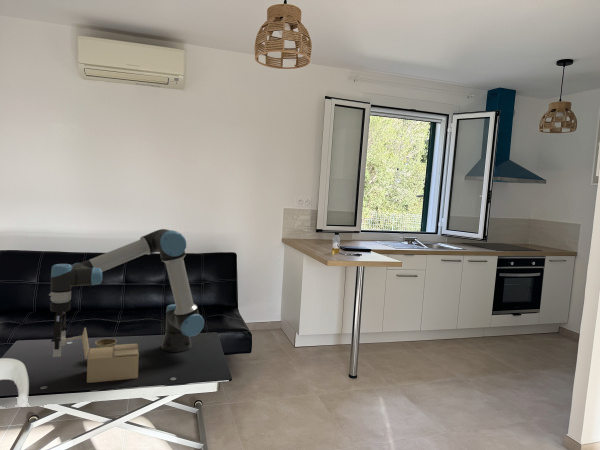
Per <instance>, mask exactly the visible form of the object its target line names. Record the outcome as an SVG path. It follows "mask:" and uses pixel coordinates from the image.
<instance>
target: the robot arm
mask: <svg viewBox="0 0 600 450" xmlns="http://www.w3.org/2000/svg"><path fill="white" fill-rule="evenodd" d="M186 249H187V240H186V237H185V236H184V235H183V234H182V233H180V232H178V231H177V230H170V229H167V228H166V229H165V228H161V229H158V230H154V231H152V232H150V233H148V234H145V235H142V236H140V238H139V239H138V240H136V241H133V242H131V243H128V244H125V245H123V246H120V247H118V248H116V249H113V250H110V251H108V252H105V253H103V254H100V255H97V256H95V257H93V258H90V259H88V260H85V261H82V262H76V263H75V262H74V263H73V264H69V263H57V264H53V265H52V266H51V272H50V273H51V274H50V293H49V294H48V296H50V301H51V302H50V303H49V311H50V312H52V313H55V315H54V316H53V319H54V321H53V322H54V324H53V336H52V339H51V340H50V341H51V342H52V343H53V344H52V345H53V346H52V350H53V351H52V357H53V358H57V357H59V358H60V357H62V347H65V346H66V343H65V344H64V345H63V346H61V336H64V337H65V338H66V331H68V327H67V313H66V312H69V311H70V310H71V306H72V305H71V299H72V287H83V286H97V285H100V284H101V283H102V281H103V272H105V271H107V270H111V269H113V268H115V267H117V266H120V265H122V264H125V263H128V262H129V261H132V260H134V259H136V258H140V257H141V256H144V255H147V256H148V255H152V254H155V253H159V255H160V260H161V262H163V263H164V264H165V267H166V271H167V275H168V276H167V277H168V279H169V284H170V288H171V291H172V296H173V301H174V303H173V304H169V305H167V306H166V310H165V334H164V336H163V339H162V342H161V349H162V350H163V351H165V352H172V353H178V352H184V351H188V350H190V349H191V348H192V340H191V338H192V337H195V336H198V334H200V333H201V332H202V330H203V329H204V326H205V319H204V318H203V316H202V315H201V314H200V311H199V307H198V305H197V304H196V303H194V299H193V295H192V291H191V287H190V283H189V279H188V274H187V269H186V264H185V260H184V258H185V257H186V256H187V255H186Z"/></svg>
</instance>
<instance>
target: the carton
mask: <svg viewBox="0 0 600 450" xmlns="http://www.w3.org/2000/svg"><path fill="white" fill-rule="evenodd" d="M139 357H140V355H139V345H138V343H126V344H115V347H104V348H97V347H92V348H91V347H89V352H88V356H87V359H86V360H87V361H86V362H87V367H86V369H87V370H86V384H87V383H89V384H90V383H101V382H109V381H110V382H113V381H121V380H131V379H138V378H139Z"/></svg>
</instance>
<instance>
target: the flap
mask: <svg viewBox="0 0 600 450" xmlns="http://www.w3.org/2000/svg"><path fill="white" fill-rule="evenodd" d="M79 339H81V341H82V348H83V349H82V350H83V355H84V359H85V360H88V355H89V351H90V344H89V340H88V339H89V338H88V333H87V327H84V328H83V332H82V335H77V336H71V337H66V336H65V337H64V336H61V347H64V346H63V345H64V344H65V345H66V343H67V342H70V341H74V340H79Z"/></svg>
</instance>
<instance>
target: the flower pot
mask: <svg viewBox="0 0 600 450" xmlns="http://www.w3.org/2000/svg"><path fill="white" fill-rule="evenodd" d="M117 341H118V340H117V339H115V338H102V339H97V340H96V341H95V342H94V343H95V347H96V348H104V347H115V345H117V344H116V343H117Z"/></svg>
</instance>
